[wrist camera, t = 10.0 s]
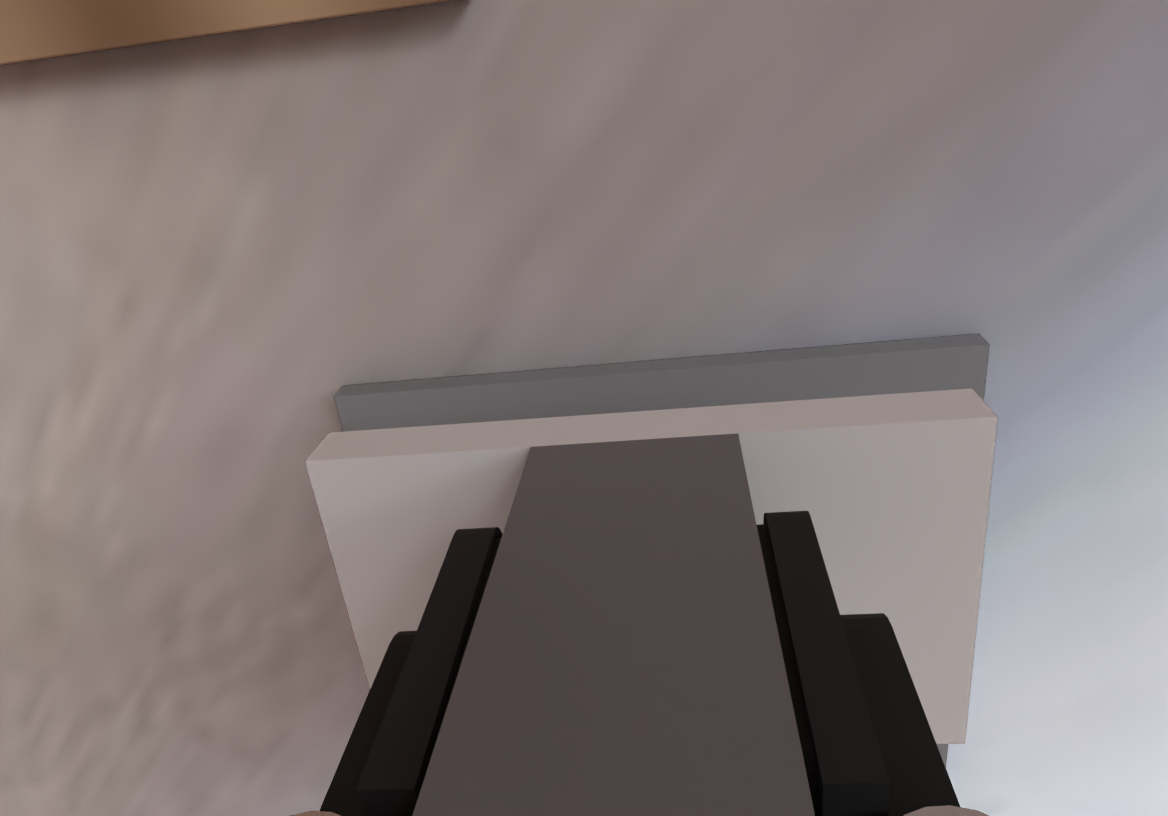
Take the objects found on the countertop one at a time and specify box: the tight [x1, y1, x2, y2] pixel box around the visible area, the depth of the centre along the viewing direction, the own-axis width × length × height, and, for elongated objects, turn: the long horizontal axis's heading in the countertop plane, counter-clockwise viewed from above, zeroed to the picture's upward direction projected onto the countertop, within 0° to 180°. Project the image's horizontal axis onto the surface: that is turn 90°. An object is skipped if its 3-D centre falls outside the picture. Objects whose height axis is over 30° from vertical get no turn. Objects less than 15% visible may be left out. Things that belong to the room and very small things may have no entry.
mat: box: [334, 334, 989, 768], centre depth 21 cm, size 14×16×1 cm
